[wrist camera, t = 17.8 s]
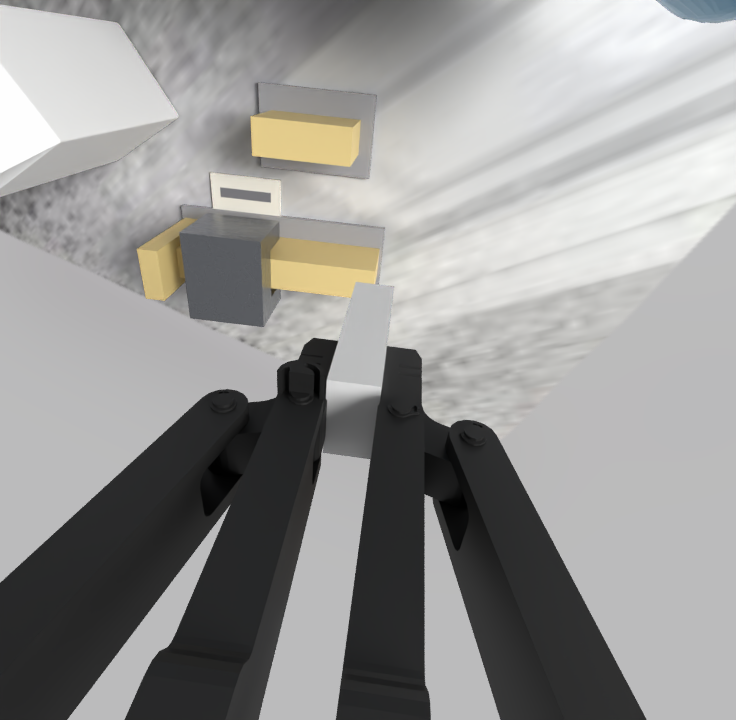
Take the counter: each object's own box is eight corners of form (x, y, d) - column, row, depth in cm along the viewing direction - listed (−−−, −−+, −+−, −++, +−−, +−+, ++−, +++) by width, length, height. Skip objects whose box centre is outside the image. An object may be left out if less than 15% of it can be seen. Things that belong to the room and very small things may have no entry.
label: (210, 172, 40) (209, 172, 39) (280, 180, 39) (279, 180, 39) (213, 208, 41) (212, 208, 41) (280, 215, 41) (280, 216, 41)
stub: (260, 82, 36) (234, 84, 31) (376, 95, 35) (369, 99, 30) (262, 165, 39) (239, 180, 34) (369, 177, 39) (362, 194, 34)
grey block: (207, 212, 38) (179, 232, 34) (279, 220, 38) (260, 242, 34) (215, 290, 42) (190, 318, 38) (280, 298, 42) (263, 326, 37)
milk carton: (118, 21, 34) (-141, -19, 18) (181, 116, 38) (5, 153, 21) (55, 75, 37) (-225, 80, 21) (118, 160, 40) (-82, 223, 24)
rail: (183, 204, 41) (130, 235, 34) (384, 227, 41) (377, 264, 33) (191, 268, 44) (144, 309, 37) (378, 290, 44) (370, 337, 36)
